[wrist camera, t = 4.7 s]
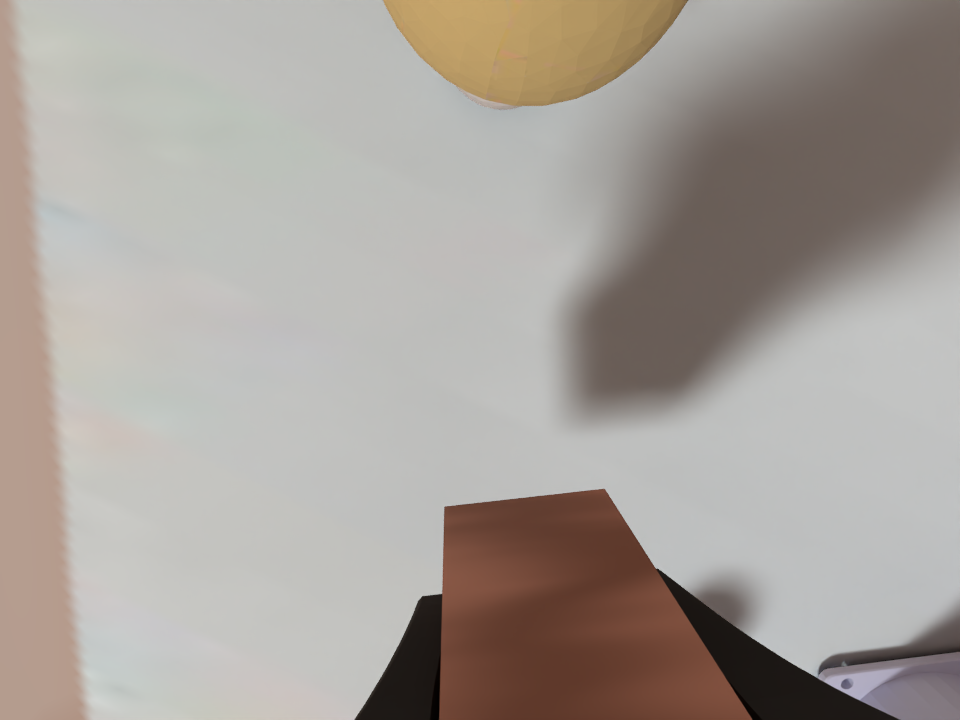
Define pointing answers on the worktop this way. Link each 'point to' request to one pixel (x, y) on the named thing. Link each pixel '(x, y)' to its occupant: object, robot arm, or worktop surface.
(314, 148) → the worktop surface
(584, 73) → the light bulb
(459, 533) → the plug block
